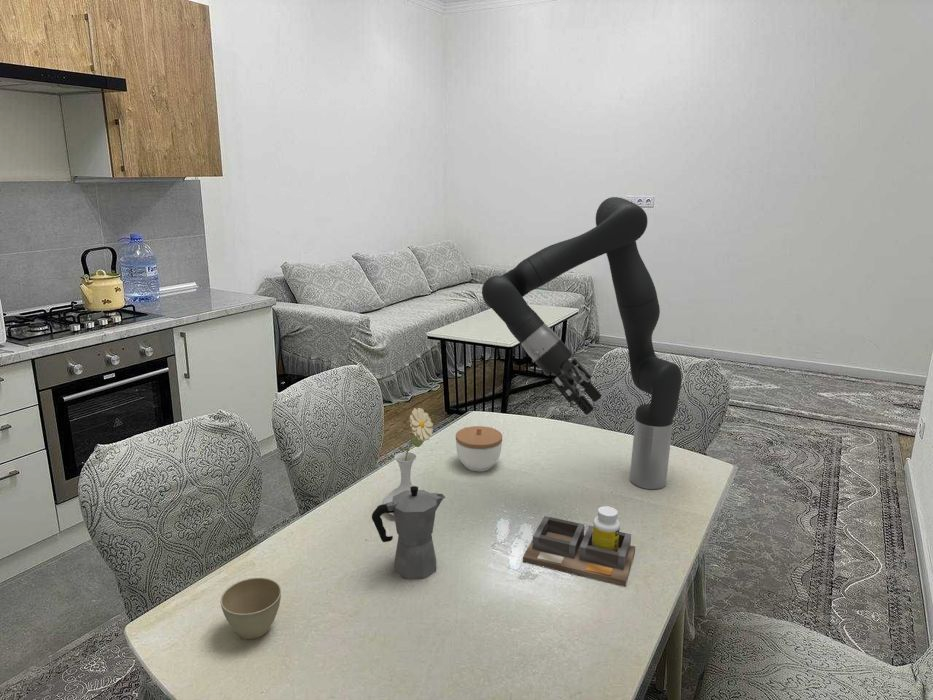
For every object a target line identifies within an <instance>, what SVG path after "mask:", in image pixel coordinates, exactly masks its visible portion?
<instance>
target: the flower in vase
mask: <svg viewBox="0 0 933 700" xmlns="http://www.w3.org/2000/svg"><path fill="white" fill-rule="evenodd" d="M409 423H410V428H411V433H412V434H411V437H410V441H409V444H408V447H402V446H401V445H400V446H398V450H403V451H404V452H400V453H399V452H398V453H396V454H395V455H394V460H395V461H396V462H397V463H398V465H399V471H400V484H399V486H397V487H395V488H394V489H393V490H391V491H390V492H389V493H387V495H385V496H384V498H383V500H382V503H381V505H382V504H386V503H388V502H392V500H393V496H395V495H397V494H399V493H401V492H403V491H406V490H410V487H412V486H414V485H413V484H412V481H411V480H412V479H411V471H412V467H413V466H412V465H413V463H414V461H415V460H416V458H417V455H416V454H415V453H413V452H409V451H410V449H411V445H413V446H414V447H416V448H419V447H421V446H422V445H423V444H424V441H430V436H433V432H434V429H433V428H432V427H434V423H433V422H432V419H431V417H430V416H429V413H428V412H425V411H424V409H423V408H422V407H421V408H420V407H418V408H415V407H414V408H413V410H412V411H411V414H410V416H409ZM418 490H420V489H419V488H418ZM387 514H389V515H390V516H393V517H394V513H387Z"/></svg>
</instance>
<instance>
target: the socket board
mask: <svg viewBox="0 0 933 700" xmlns="http://www.w3.org/2000/svg"><path fill="white" fill-rule="evenodd" d="M585 526H586V525H585V524H584V523H580V522H575V521H571V520H566V519H561V518H556V517H552V516H548V515H547V516H546V515H544V516H543V518H542V519H541V522H540V523H539V525H538V526H537V528H536V530H535V531H534V534H533V535H532V540H531V542H530V543H529V545H528V546H527V549H526V550H525V552H524V554H523V556H522V562H523V563H526V562H527V564H530V563H531V565H534V564H535V566H539V565H540V566H539V567H543V566H544V568H547V569H551V570H556V571H559V572H560V571H561V572H563V573H568V574H573V575H577V576H580V577H584V578H588V579H589V578H590V579H593V580H596V581H602V582H605V583H610V584H612V585H613V584H614V585H618V586H622V587H627V586H626V585H627V581H628V578H629V574H630V571H631V567H632V563H633V560H634V556H635V553H636V546H634V545H631V542H632V534H631V533H628V532H627V533H626V532H621V531H619V541H618V551H617V552H615V551H611V550H606V549H602V548H597V547H593V546H592V534H593V525H590V524H589V525H588V526H587V530H586V531H585Z"/></svg>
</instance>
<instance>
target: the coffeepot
mask: <svg viewBox="0 0 933 700" xmlns="http://www.w3.org/2000/svg"><path fill="white" fill-rule="evenodd" d="M418 489H419V486H417V485H413V486H412V487H410V490H406V491H403V492H401V493H399V494H397V495H395V496H393V500H392V502H388V503H386V504H382V503H381V504H378V505H377V507H376V508H375V509H374V510H373V511H372V514H371V519H372V522H373V524H374V526H375V529H376V530H377V533H378V535H379V537H380V539H381V542H382V543H388V542H392V540H393V537H394V536H393V535H390V536H387V530H386V528H385V526H384V522H383V519H382V517H381V516H382V515H383V514H388V513H394V516H393V517H394V524H395V528H396V534H397V535H398V537H397V543H396V549H395V550H396V551H395V554H394V562H393V563H394V565H393V572H394V573H395V574H397V575H398V576H399V577H401V578H404V579H407V580H421V579H424V578H428V577H429V576H431V575H433V574H434V572H435V571H437V557H436V556H437V555H436V552H435V547H434V540H433V536H432V534H433V531H434V524H435V518H436V513H437V510H438V508H439V506H440V505H441V503H442V502H443V500H444V499H445V498H446V496H445V495H444V494H442V493H439V492H429V491H427V490H425V489H419V490H418Z"/></svg>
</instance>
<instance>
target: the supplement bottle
mask: <svg viewBox="0 0 933 700" xmlns="http://www.w3.org/2000/svg"><path fill="white" fill-rule="evenodd" d="M618 513H619V512H618V510H617V509H616V508H614V507H612V506H608V505H607V506H605V505H604V506H600V507H598V510H597V516H596V517H595V518H594V519H593V525H592V526H593V534H592V546H593V547H597V548H602V549H606V550H611V551H615V552H617V551H618V541H619V532H620V529H621V528H620V527H621V524H620V520H618V516H619V515H618Z"/></svg>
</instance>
